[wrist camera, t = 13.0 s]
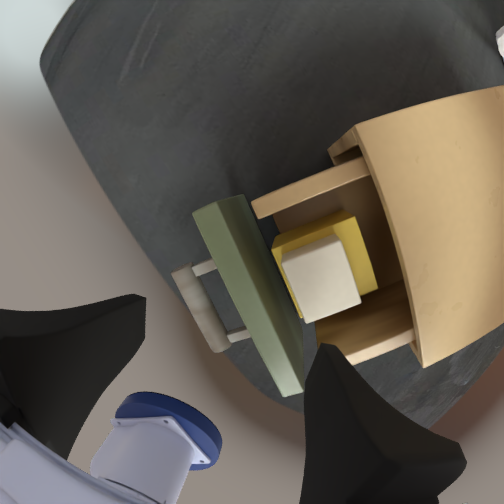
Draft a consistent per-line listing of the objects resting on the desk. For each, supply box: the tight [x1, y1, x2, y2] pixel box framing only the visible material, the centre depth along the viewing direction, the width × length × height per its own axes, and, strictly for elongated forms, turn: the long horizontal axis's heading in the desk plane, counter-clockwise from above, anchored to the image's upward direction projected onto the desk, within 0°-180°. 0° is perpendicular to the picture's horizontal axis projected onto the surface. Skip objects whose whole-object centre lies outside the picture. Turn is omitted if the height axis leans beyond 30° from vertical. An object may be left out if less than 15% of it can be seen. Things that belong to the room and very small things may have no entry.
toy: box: [271, 209, 378, 323], centre depth 14 cm, size 4×4×5 cm
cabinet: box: [327, 85, 504, 368], centre depth 12 cm, size 13×11×8 cm
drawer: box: [171, 156, 416, 397], centre depth 15 cm, size 16×10×7 cm, turn 114°
